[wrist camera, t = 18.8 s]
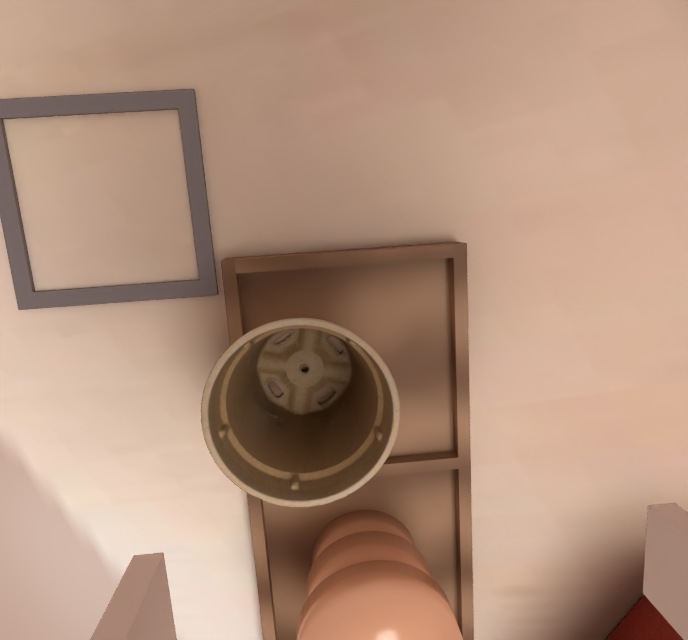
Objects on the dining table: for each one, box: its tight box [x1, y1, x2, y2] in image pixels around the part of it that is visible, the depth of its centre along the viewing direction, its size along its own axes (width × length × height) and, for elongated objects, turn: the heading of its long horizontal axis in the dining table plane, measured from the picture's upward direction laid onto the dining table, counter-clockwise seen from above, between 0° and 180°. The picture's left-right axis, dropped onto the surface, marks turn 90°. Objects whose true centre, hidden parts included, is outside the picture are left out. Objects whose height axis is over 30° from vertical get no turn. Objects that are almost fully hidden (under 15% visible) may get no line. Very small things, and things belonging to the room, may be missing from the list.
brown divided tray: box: [221, 242, 474, 640], centre depth 35 cm, size 28×15×2 cm, turn 4°
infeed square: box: [0, 89, 218, 310], centre depth 31 cm, size 12×12×1 cm
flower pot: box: [201, 318, 400, 507], centre depth 29 cm, size 9×9×9 cm
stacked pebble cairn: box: [296, 510, 463, 640], centre depth 32 cm, size 9×9×9 cm
